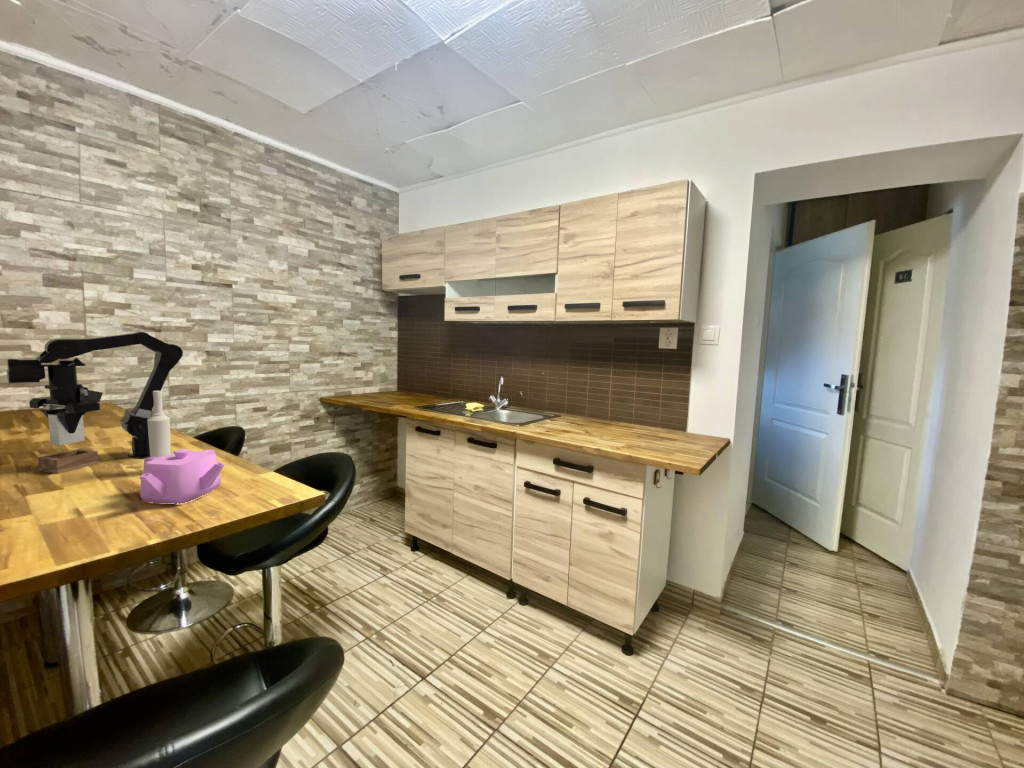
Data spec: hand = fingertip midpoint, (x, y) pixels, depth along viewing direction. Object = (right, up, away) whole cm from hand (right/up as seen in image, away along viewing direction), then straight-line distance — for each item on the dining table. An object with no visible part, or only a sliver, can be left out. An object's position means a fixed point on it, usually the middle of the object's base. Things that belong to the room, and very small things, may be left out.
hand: (67, 432), depth 121 cm
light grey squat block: (0, -3, 0) cm, 3 cm away
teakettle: (+46, -16, -13) cm, 51 cm away
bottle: (+27, -12, +2) cm, 30 cm away
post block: (-1, -11, +1) cm, 11 cm away
